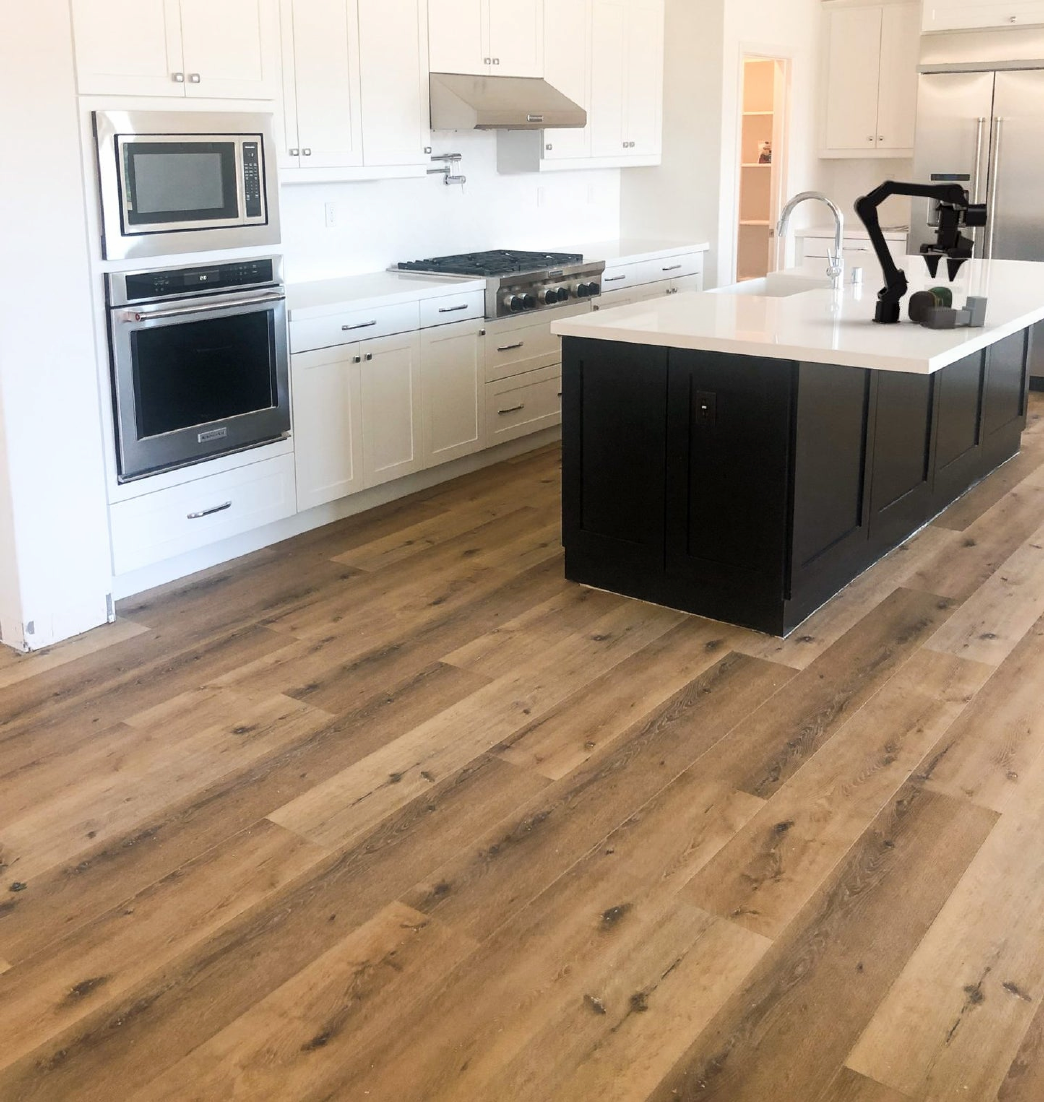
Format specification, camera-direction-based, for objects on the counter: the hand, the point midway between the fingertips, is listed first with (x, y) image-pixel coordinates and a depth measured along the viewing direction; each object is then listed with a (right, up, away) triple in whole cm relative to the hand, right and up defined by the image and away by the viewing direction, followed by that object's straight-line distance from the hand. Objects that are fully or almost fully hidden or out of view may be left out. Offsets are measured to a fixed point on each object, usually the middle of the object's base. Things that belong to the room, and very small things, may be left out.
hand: (942, 280), depth 365 cm
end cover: (+7, -14, -1) cm, 16 cm away
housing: (-2, -15, -3) cm, 15 cm away
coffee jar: (+5, -4, +15) cm, 16 cm away
